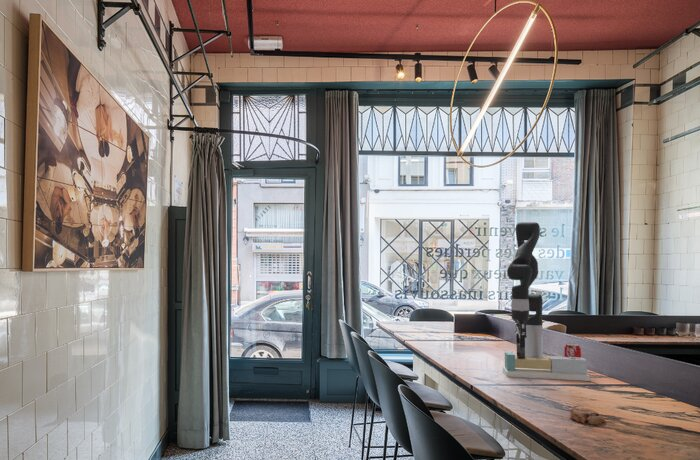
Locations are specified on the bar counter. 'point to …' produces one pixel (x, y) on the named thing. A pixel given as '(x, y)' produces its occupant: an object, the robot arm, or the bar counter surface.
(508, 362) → the socket
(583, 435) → the bar counter surface
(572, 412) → the cookie
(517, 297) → the robot arm
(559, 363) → the steel sleeve
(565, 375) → the board
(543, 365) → the tan knobbed slider
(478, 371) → the bar counter surface
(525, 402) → the bar counter surface
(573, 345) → the soda can
